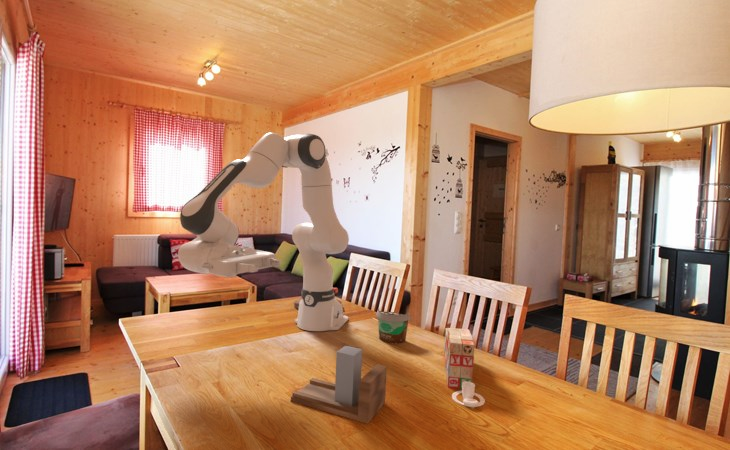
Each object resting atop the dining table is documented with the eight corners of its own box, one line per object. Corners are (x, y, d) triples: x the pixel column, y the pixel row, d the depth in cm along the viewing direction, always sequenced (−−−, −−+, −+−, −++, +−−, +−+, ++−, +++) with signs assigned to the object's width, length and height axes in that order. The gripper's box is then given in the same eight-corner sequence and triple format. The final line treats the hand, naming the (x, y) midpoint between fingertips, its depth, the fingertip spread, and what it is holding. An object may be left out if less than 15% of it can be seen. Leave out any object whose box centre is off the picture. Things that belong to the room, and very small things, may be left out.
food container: (369, 340, 136) (371, 312, 136) (376, 335, 142) (377, 308, 141) (404, 347, 132) (405, 317, 131) (409, 341, 138) (410, 313, 137)
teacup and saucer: (478, 413, 93) (479, 396, 92) (445, 403, 97) (446, 386, 97) (488, 398, 100) (489, 383, 100) (458, 389, 104) (458, 374, 104)
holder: (313, 384, 103) (314, 350, 102) (384, 403, 95) (386, 366, 94) (290, 401, 94) (292, 364, 93) (368, 423, 86) (369, 383, 85)
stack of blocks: (443, 356, 125) (445, 318, 125) (463, 358, 124) (466, 319, 124) (447, 387, 104) (450, 341, 103) (472, 390, 103) (475, 344, 103)
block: (343, 394, 96) (345, 345, 96) (360, 398, 95) (362, 349, 94) (334, 402, 92) (336, 351, 92) (351, 407, 90) (354, 355, 90)
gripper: (197, 253, 100) (240, 258, 94) (252, 246, 118) (290, 250, 113) (197, 278, 100) (240, 285, 94) (251, 267, 119) (290, 272, 113)
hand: (268, 266), depth 104 cm, fingers open, 8 cm apart
